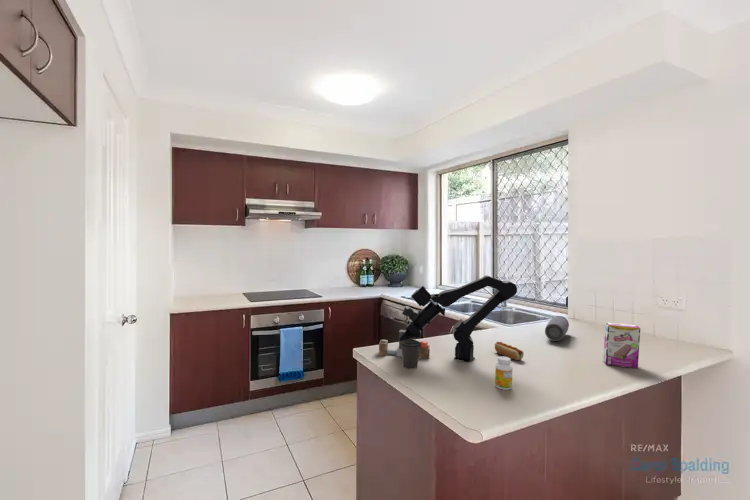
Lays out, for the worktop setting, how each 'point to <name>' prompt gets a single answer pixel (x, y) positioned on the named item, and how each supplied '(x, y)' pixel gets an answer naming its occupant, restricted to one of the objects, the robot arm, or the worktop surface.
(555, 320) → the bluetooth speaker
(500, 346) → the food
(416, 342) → the coffee cup
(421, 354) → the cabinet
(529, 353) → the worktop surface
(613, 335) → the candy bar box
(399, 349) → the plate
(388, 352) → the handrail
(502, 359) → the supplement bottle
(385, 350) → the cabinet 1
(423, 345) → the gauge button
